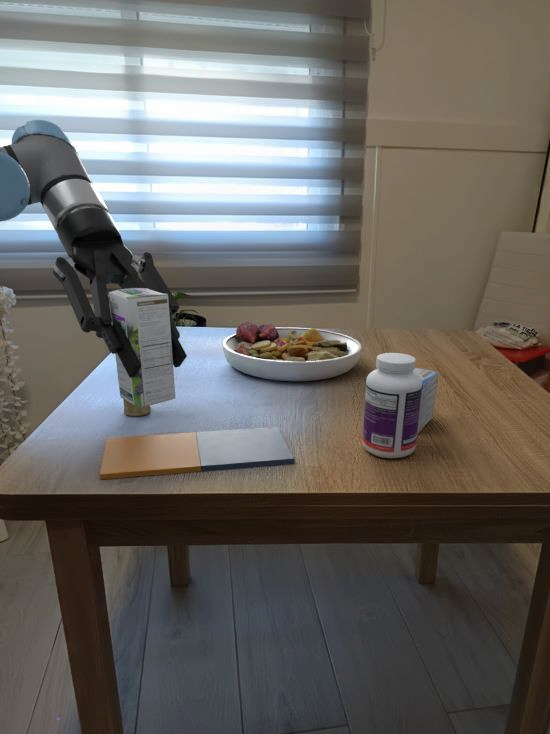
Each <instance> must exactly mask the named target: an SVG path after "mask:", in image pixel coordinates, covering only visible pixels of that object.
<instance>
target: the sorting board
mask: <svg viewBox="0 0 550 734" xmlns="http://www.w3.org/2000/svg"><path fill="white" fill-rule="evenodd" d="M291 464H295V456H294V455H293V453H292V451H291V448H290V447H289V445H288V443H287V441H286V439H285V437H284V435H283V433H282V431H281V429H280V427H279V426H266V427H253V428H251V427H250V428H238V429H237V428H236V429H234V428H233V429H222V430H221V429H219V430H206V431H191V432H177V433H161V434H147V435H131V436H116V437H106V440H105V444H104V450H103V454H102V459H101V464H100V469H99V480H101V481H102V480H112V479H113V480H114V479H126V478H134V477H135V478H137V477H148V476H161V475H171V474H182V473H195V472H196V473H197V472H208V471H220V470H232V469H234V470H235V469H243V468H256V467H266V466H267V467H268V466H280V465H281V466H282V465H291Z"/></svg>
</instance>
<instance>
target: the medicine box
mask: <svg viewBox="0 0 550 734" xmlns="http://www.w3.org/2000/svg"><path fill="white" fill-rule="evenodd" d="M413 372H415V373H416V374H418V375H419V376H420V378H421V380H422V391H421V400H420V410H419V420H418V430H417V435H418V434H420V432H421V431H422V430H423V429H424V428H425V427H426V425H427V424H429V422H430V421H431V420H432V419H433V417H434V410H435V403H436V395H437V388H438V380H439V372H437V371H434V370H429V369H425V368H418V367H415V369H414V370H413Z"/></svg>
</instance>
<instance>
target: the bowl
mask: <svg viewBox="0 0 550 734" xmlns="http://www.w3.org/2000/svg"><path fill="white" fill-rule="evenodd" d="M222 351H223V355H224V357H225V359H226V361H227V362H228V364H230V365H231V366H232V367H233V368H234V369H235V370H237V371H239V372H241V373H242V374H245V375H248V376H252V377H257V378H260V379H264V380H265V379H266V380H270V381H271V380H273V381H282V382H311V381H321V380H325V379H331V378H334V377H338V376H341V375H343V374H345V373H348V372H349V371H350V370H352V369H353V368H354V367H355V366H356V365H357V364H358V362H359V360H360V358H361V355H362V344H361V342H360V341H358V340H357V339H356V338H354V337H352V336H349V335H346V334H343V333H340V332H335V331H331V330H325V329H318V328H315V327H311V328H310V327H309V328H308V327H275V325H273V323H270V322H262V323H261V324H260V325H259V326H258V325H257V324H256V323H254V322H251V321H245V322H243V323H241V324H240V325H238V326H237V327H236V330H235V333H233V334H231V335H229V336H226V337H225V338H224V340H223V341H222Z"/></svg>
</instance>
